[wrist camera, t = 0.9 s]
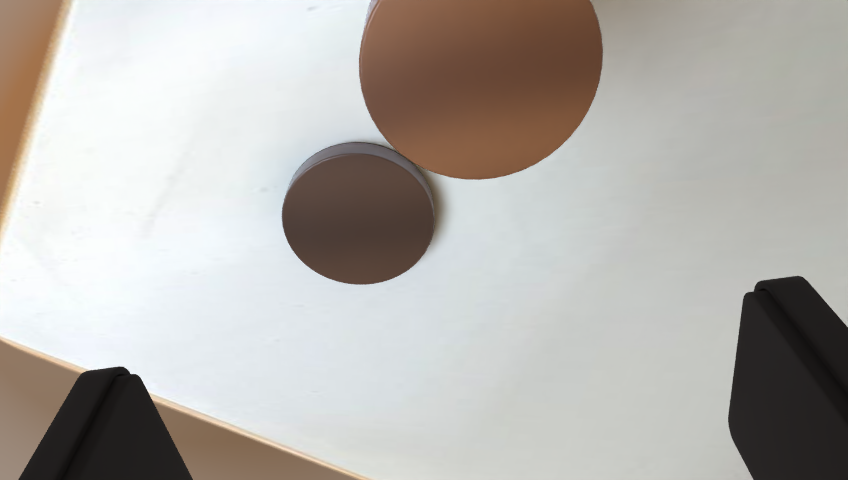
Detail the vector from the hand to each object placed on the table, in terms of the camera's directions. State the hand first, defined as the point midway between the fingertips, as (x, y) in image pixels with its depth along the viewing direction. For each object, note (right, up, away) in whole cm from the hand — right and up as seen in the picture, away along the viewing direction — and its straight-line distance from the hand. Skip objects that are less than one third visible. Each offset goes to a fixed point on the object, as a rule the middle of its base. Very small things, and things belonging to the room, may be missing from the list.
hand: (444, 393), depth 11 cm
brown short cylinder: (+1, +9, +11) cm, 14 cm away
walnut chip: (-4, +4, +28) cm, 29 cm away
